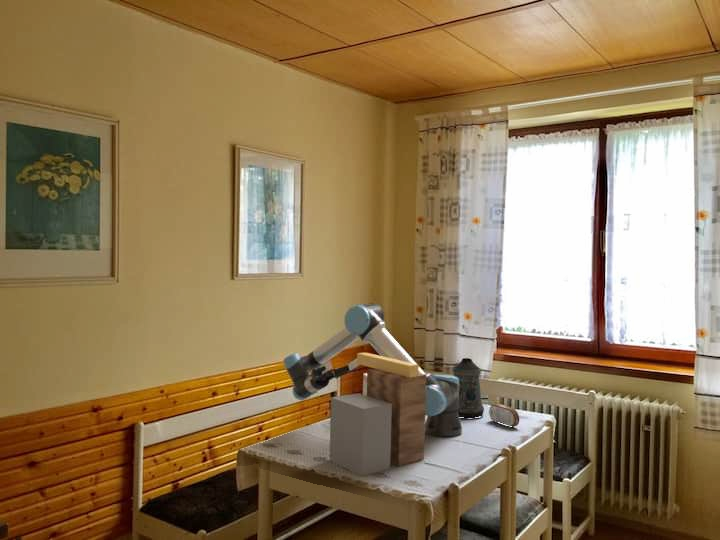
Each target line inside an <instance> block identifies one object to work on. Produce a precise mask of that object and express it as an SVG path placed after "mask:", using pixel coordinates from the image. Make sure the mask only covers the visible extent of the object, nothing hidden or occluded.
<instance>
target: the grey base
mask: <svg viewBox="0 0 720 540" xmlns="http://www.w3.org/2000/svg"><path fill="white" fill-rule="evenodd" d="M391 416H392V404H391V403H388V402H384V401H381V400H378V399H375V398H372V397H369V396H365V395H363V393H351V394H345V395H339V396H332V397H330V419H329V421H330V425H329V461H330V462H331V463H333V464H336V465H337V466H340V467H342V468H343V469H346V470H348V471H350V472H353V473H354V474H357V475H359V476H361V477H366V476H369V475H371V474H376V473H379V472H383V471H387V470H390V469H391V463H390V450H391Z"/></svg>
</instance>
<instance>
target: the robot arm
mask: <svg viewBox="0 0 720 540" xmlns="http://www.w3.org/2000/svg"><path fill="white" fill-rule="evenodd" d="M385 315H386V314H385V311H384V309H383V308H382V307H381V306H380V305H379V304H378V303H373V302H368V303H363V304H362V303H361V304H360V303H359V304H355V305H353V306H351V307H349V308H348V309H347V311H346V312H345V315H344V326H345V327H343V328H342V329H340V330H339V331H338V332H337V333H335V334H333V335H332V336H331V337H330V338H329V339H327V340H325V342H323V343H322V344H321V345H318V346H317V347H316V348H315V349H313V350H312V351H311V352H310V353H308V354H306V355H304V356H300V354H299V353H297V352H295V353H292V354H289V355H288V356H286V357H284V359H283V360H282V361H283V364H284V368H285V369H286V371H287V373H288V376H289V378H290V379H291V381H292V384H293V387H292V395H293V396H294V398H295V399H296V400H299V401H303V400H306V399H308V398H311V396H313V395H315V394H318V392H319V391H320V390H323V389H324V388H326V387H327V386H328V385H329V383H330V381H331V380H333V379H339V378H340V377H342V376H344V375H347V374H351V373H352V372H355V371H356V369H355V368H357V367H358V366H361V365H360V364H357V358H355V359H354V360H352V361H351V362H348V364H347V365H344V366H342V367H339V368H333V365H332V361H330V360H331V359H333V358H334V357H335V356H337V355H338V354H340V353H341V352H342V351H344V350H345V349H347V348H349V346H350V345H352V344H353V343H355V342H357V340H359V339H360V340H361V341H362V342H363V343H369V344H370V345H371V346H372V347H373V349H374V350H375V351H376V352H377V353H378V355H379V356H383V357H387V358H392V359H396V360H400V361H405V362H409V363H413V364H418V363H417V362H416V361H415V360H414V358H412V357H411V356H410V354H409V353H408V352H407V351H406V350H405V349H404V347H402V345H401V344H400V343H399V342H398V341H397V340H396V339H395V338H394V336H393V335H392V334H390V332H389V331H388V330H387V329H386V322H385V320H386V319H385V318H386V316H385ZM309 373H310V374H309ZM418 373H420V374H424V375H426V407H425V417H426V416H427V418H426V419H425V433H427V434H428V435H431V436H436V437H442V436H452V437H457V436H456V435H458V436H459V434H460V435H462V434H463V426H462V422H461V419H460V418H459V415H458V401H459V379H458V378H457V377H455V376H454V375H448V374H434V373H433V374H432V373H427V372H425V371H424V370H423V369H422V368H421V367H420V366H419V369H418Z"/></svg>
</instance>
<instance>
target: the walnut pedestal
mask: <svg viewBox="0 0 720 540" xmlns="http://www.w3.org/2000/svg"><path fill="white" fill-rule="evenodd" d="M366 371H367V372H366V373H367V396H369V397H372V398H375V399H378V400H381V401H384V402H388V403H391V404H392V416H391V450H390V464H392V465H394V466H395V467H396V466H397V467H402V466H405V465H409V464H412V463H417V462H420V461H424V460H425V438H426V437H425V433H426V432H425V422H426V415H425V407H426V375H424V374H420V373H418V376H417V377H406V376H402V375H398V374H394V373H391V372H387V371H383V370H379V369H375V368H370V369H367V370H366Z"/></svg>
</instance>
